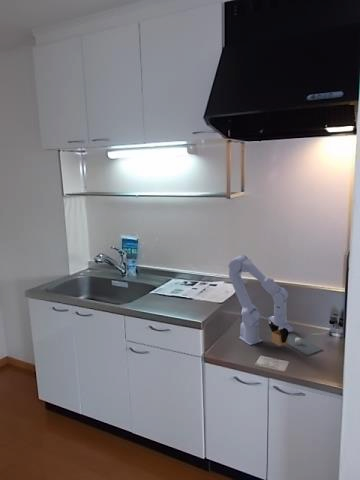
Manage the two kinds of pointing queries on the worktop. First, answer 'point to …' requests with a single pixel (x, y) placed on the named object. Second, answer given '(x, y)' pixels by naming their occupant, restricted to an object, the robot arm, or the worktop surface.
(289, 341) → the plate
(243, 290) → the robot arm
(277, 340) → the wooden cube with hole
